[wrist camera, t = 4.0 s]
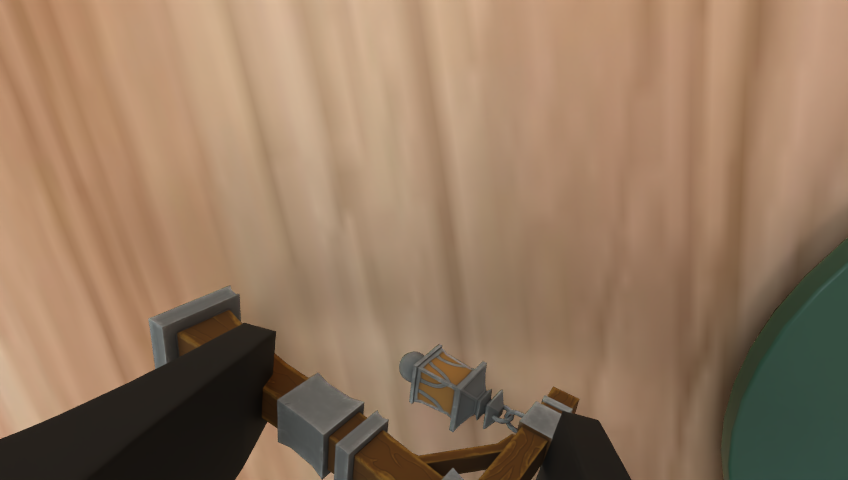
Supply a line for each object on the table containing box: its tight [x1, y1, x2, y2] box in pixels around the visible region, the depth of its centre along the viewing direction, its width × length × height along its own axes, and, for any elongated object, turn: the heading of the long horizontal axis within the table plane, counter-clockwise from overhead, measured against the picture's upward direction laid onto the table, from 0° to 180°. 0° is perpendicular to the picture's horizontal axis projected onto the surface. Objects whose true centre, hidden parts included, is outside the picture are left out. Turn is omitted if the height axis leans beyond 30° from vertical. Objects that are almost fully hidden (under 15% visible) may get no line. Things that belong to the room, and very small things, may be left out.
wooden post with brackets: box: [149, 286, 579, 480], centre depth 10 cm, size 2×8×4 cm, turn 84°
